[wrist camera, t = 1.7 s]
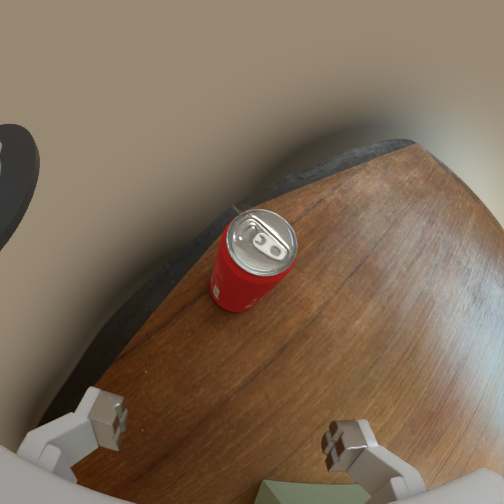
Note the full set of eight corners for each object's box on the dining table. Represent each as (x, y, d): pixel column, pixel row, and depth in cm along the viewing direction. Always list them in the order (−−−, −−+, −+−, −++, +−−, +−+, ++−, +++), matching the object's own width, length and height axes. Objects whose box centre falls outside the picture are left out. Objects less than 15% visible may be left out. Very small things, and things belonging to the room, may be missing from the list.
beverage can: (228, 255, 31) (252, 192, 20) (268, 284, 31) (314, 235, 20) (198, 293, 29) (205, 246, 18) (241, 324, 28) (275, 296, 18)
